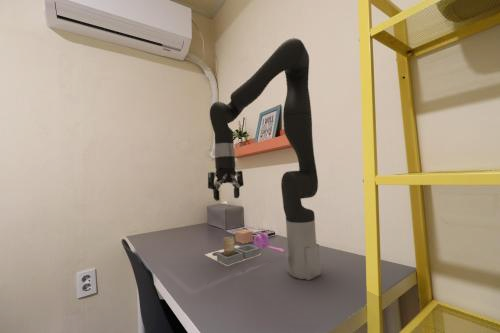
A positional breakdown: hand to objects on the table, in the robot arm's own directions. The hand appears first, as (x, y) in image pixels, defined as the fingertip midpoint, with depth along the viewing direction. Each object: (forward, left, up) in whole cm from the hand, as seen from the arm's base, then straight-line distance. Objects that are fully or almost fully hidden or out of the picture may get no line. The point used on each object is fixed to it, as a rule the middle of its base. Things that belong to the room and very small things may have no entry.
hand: (227, 199), depth 87 cm
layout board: (+4, -4, -24) cm, 25 cm away
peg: (0, 0, -23) cm, 23 cm away
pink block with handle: (-1, -19, -24) cm, 31 cm away
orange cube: (+16, -18, -24) cm, 34 cm away
